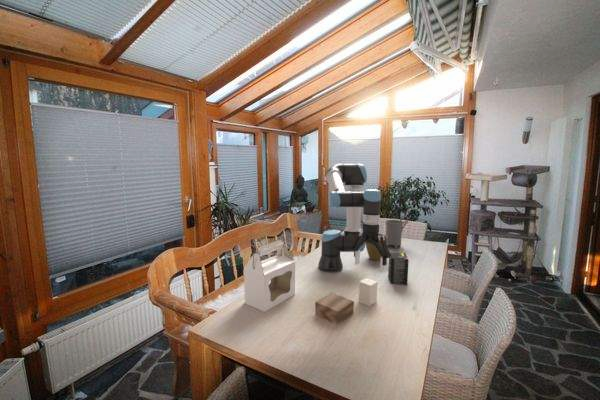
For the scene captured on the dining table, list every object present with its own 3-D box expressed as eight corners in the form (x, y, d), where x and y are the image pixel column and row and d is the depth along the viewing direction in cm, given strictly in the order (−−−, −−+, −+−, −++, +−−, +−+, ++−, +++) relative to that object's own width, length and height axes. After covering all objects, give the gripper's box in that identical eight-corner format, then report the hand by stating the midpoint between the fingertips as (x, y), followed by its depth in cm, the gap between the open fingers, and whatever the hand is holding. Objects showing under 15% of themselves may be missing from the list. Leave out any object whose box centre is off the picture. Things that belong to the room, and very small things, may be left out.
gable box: (264, 312, 127) (263, 251, 123) (244, 303, 135) (242, 245, 131) (295, 294, 145) (295, 240, 141) (276, 287, 153) (275, 235, 149)
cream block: (358, 301, 138) (359, 281, 136) (365, 297, 142) (366, 278, 140) (369, 306, 134) (370, 285, 132) (376, 301, 138) (377, 281, 136)
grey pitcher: (379, 246, 224) (381, 214, 220) (384, 241, 236) (386, 211, 233) (404, 250, 214) (406, 217, 210) (408, 245, 227) (410, 214, 223)
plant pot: (390, 259, 195) (392, 236, 193) (375, 264, 187) (377, 240, 184) (373, 253, 207) (374, 231, 205) (359, 257, 199) (360, 234, 196)
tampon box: (407, 285, 156) (409, 259, 153) (389, 283, 157) (391, 258, 155) (404, 277, 166) (406, 252, 164) (387, 275, 168) (389, 251, 166)
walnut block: (315, 314, 126) (315, 301, 126) (331, 304, 135) (331, 292, 134) (337, 325, 118) (338, 311, 118) (353, 313, 127) (353, 301, 126)
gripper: (344, 220, 138) (343, 262, 141) (391, 229, 121) (389, 277, 123) (353, 218, 144) (352, 259, 146) (400, 226, 126) (398, 272, 129)
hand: (369, 267), depth 135 cm, fingers open, 13 cm apart
